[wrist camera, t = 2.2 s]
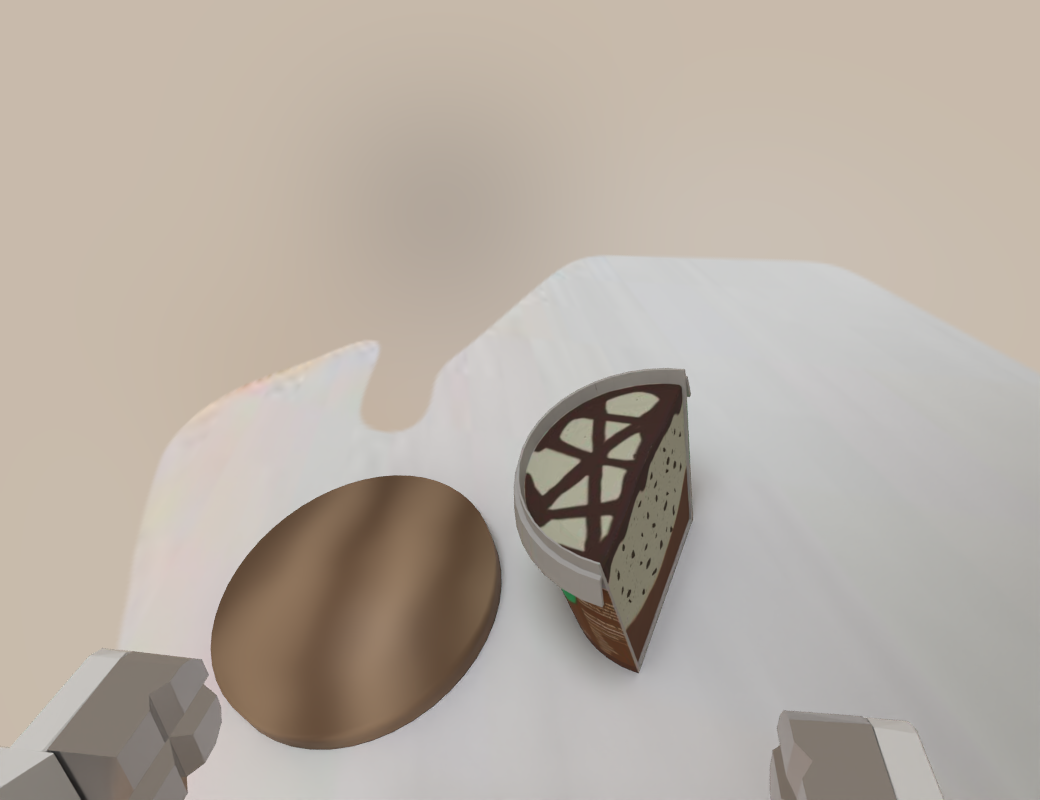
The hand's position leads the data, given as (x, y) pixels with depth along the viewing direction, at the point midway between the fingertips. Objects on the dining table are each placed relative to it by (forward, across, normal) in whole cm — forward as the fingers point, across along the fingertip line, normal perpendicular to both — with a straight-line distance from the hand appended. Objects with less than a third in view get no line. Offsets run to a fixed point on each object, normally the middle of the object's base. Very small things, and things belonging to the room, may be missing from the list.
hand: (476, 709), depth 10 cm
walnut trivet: (+21, +12, +20) cm, 31 cm away
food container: (+22, -2, +18) cm, 28 cm away
